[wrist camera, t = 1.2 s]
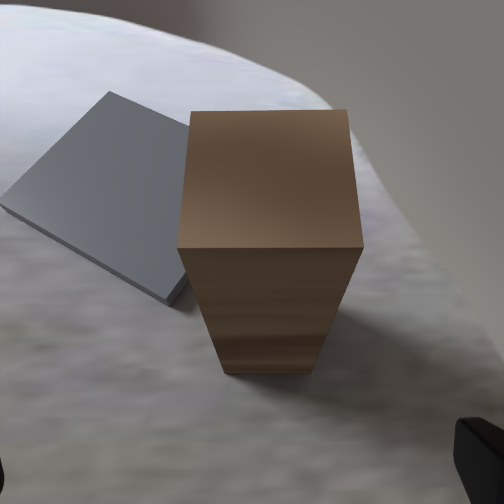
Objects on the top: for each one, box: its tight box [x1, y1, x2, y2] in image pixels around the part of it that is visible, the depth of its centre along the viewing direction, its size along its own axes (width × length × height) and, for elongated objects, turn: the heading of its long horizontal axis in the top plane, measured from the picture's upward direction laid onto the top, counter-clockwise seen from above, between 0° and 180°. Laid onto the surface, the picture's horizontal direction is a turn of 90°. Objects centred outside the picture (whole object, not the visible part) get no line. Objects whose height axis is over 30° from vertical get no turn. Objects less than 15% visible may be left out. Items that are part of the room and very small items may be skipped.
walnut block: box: [177, 110, 364, 374], centre depth 18 cm, size 4×4×14 cm
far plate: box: [0, 91, 189, 307], centre depth 28 cm, size 13×11×1 cm
